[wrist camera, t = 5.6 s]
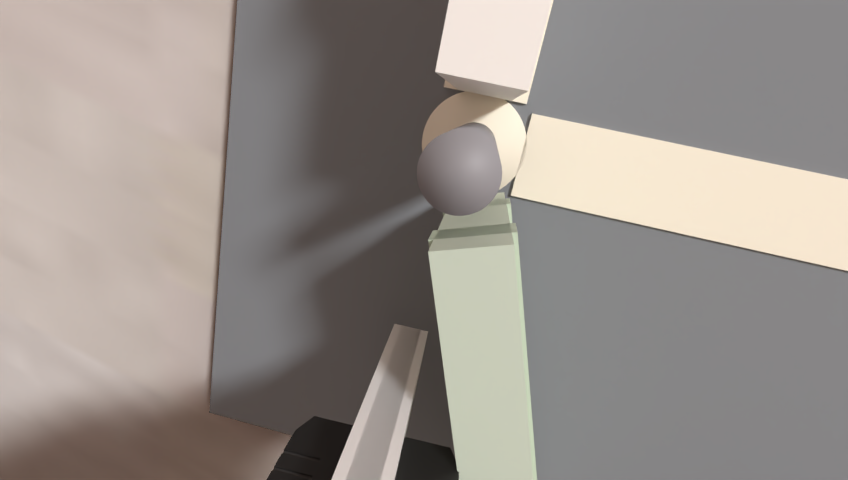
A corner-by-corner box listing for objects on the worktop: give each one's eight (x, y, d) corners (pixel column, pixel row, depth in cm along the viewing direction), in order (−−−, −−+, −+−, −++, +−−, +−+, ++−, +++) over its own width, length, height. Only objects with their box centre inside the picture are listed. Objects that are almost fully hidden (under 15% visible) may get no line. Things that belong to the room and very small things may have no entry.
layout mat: (217, 403, 16) (207, 414, 16) (269, -303, 10) (257, -328, 10) (782, 559, 15) (794, 577, 14) (1216, -169, 9) (1265, -189, 8)
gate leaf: (448, 197, 12) (414, 268, 7) (508, 191, 12) (523, 259, 6) (482, 494, 15) (479, 724, 9) (532, 494, 14) (560, 732, 9)
